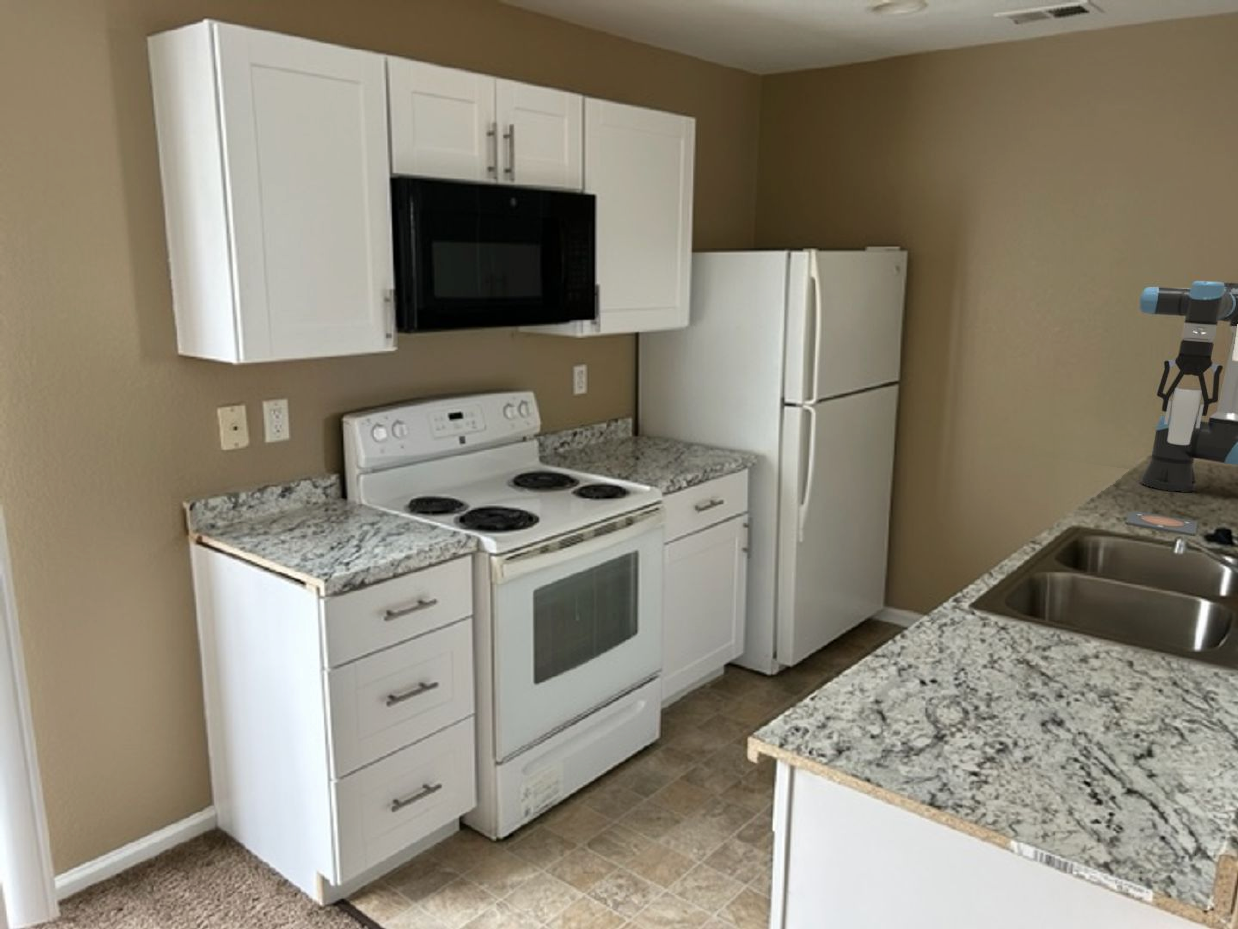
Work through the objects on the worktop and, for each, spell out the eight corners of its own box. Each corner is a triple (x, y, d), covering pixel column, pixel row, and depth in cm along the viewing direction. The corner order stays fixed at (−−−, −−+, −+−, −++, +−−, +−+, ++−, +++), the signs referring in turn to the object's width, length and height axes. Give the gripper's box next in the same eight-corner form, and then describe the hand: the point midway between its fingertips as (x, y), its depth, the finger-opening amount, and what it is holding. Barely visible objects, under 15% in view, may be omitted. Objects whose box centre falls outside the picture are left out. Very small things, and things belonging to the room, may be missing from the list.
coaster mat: (1131, 512, 260) (1131, 509, 260) (1197, 523, 251) (1198, 520, 251) (1125, 524, 247) (1125, 521, 246) (1195, 536, 238) (1195, 533, 238)
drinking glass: (1184, 442, 255) (1195, 388, 252) (1197, 447, 248) (1208, 391, 245) (1159, 440, 256) (1169, 386, 252) (1170, 444, 249) (1181, 389, 246)
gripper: (1155, 337, 248) (1140, 422, 252) (1242, 344, 238) (1225, 432, 243) (1155, 336, 254) (1140, 419, 259) (1240, 343, 245) (1223, 429, 249)
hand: (1181, 425), depth 251 cm, fingers closed on drinking glass, 7 cm apart
